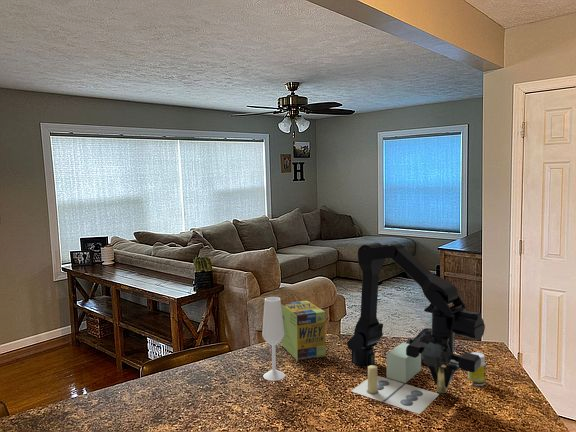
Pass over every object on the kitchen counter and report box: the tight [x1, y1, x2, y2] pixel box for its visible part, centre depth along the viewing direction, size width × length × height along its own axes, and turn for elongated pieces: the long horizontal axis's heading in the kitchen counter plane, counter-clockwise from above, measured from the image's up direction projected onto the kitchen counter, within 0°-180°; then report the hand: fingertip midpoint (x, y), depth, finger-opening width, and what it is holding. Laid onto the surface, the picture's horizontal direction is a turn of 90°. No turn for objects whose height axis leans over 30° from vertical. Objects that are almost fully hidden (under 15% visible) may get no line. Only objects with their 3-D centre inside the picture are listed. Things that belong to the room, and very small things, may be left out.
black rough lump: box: [405, 327, 432, 364], centre depth 154 cm, size 13×14×10 cm
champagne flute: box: [261, 296, 286, 382], centre depth 140 cm, size 7×7×24 cm
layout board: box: [350, 365, 440, 415], centre depth 126 cm, size 20×13×8 cm, turn 51°
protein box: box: [281, 300, 326, 362], centre depth 160 cm, size 10×15×16 cm
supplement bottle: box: [467, 351, 487, 387], centre depth 134 cm, size 5×5×8 cm
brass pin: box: [436, 364, 448, 394], centre depth 126 cm, size 3×3×7 cm
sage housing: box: [385, 342, 422, 384], centre depth 138 cm, size 6×11×8 cm, turn 141°
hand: (441, 385), depth 126 cm, fingers closed on brass pin, 3 cm apart
